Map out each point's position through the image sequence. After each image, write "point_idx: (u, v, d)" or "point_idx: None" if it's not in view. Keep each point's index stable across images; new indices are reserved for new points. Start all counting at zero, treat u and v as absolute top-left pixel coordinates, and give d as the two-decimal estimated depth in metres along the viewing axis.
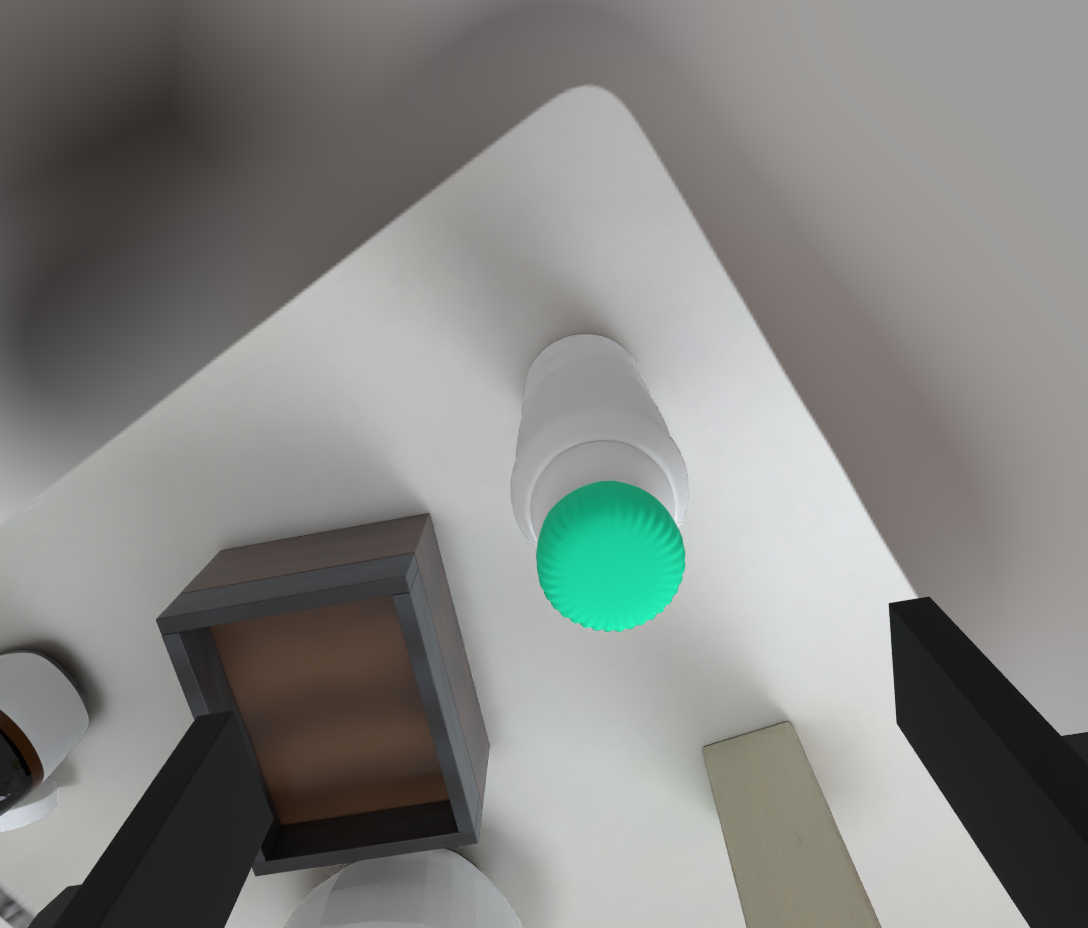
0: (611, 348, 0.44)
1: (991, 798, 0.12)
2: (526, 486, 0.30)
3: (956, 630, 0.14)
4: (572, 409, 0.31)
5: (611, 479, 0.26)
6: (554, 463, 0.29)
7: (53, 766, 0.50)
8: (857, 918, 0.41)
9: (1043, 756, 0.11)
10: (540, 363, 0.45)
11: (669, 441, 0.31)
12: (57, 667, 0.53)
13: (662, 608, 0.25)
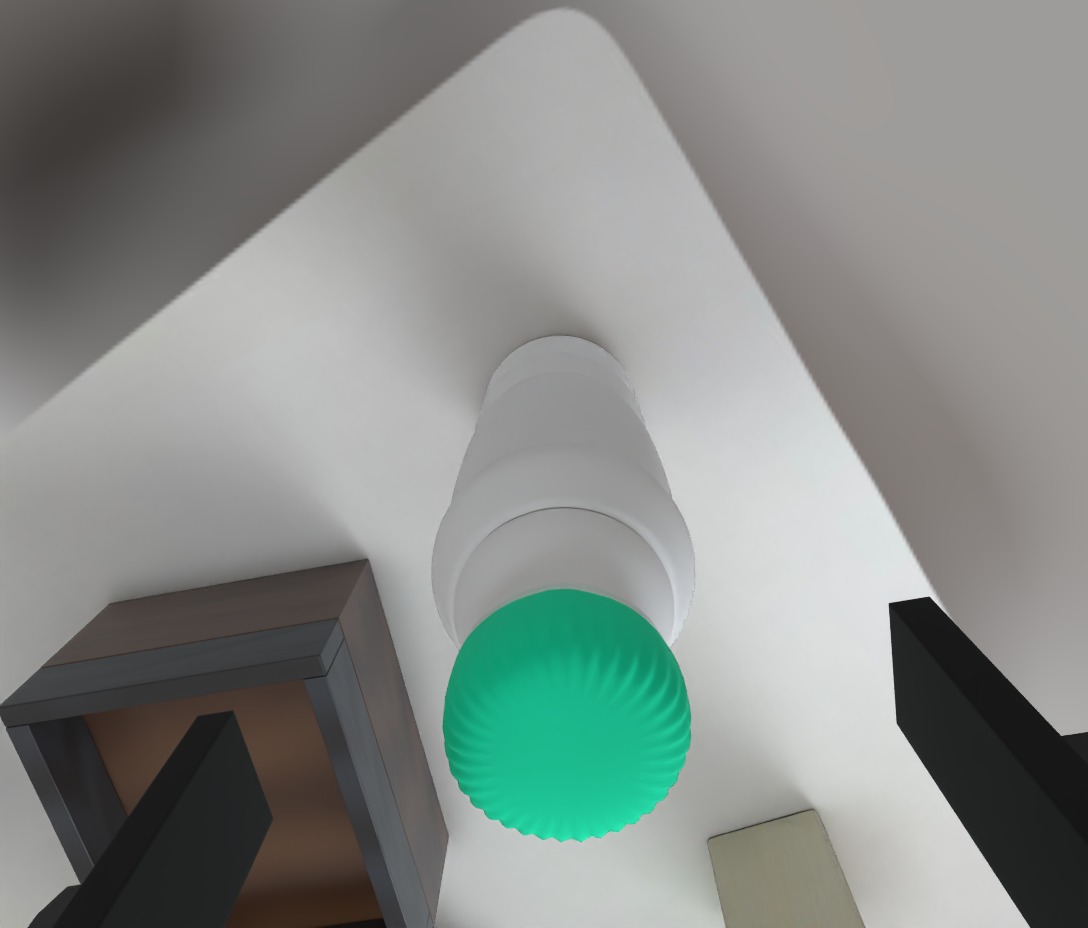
0: (593, 355, 0.34)
1: (991, 798, 0.12)
2: (449, 574, 0.20)
3: (956, 630, 0.14)
4: (521, 454, 0.20)
5: (570, 584, 0.16)
6: (488, 544, 0.19)
7: None
8: None
9: (1043, 756, 0.11)
10: (500, 374, 0.34)
11: (666, 504, 0.20)
12: None
13: (653, 806, 0.15)
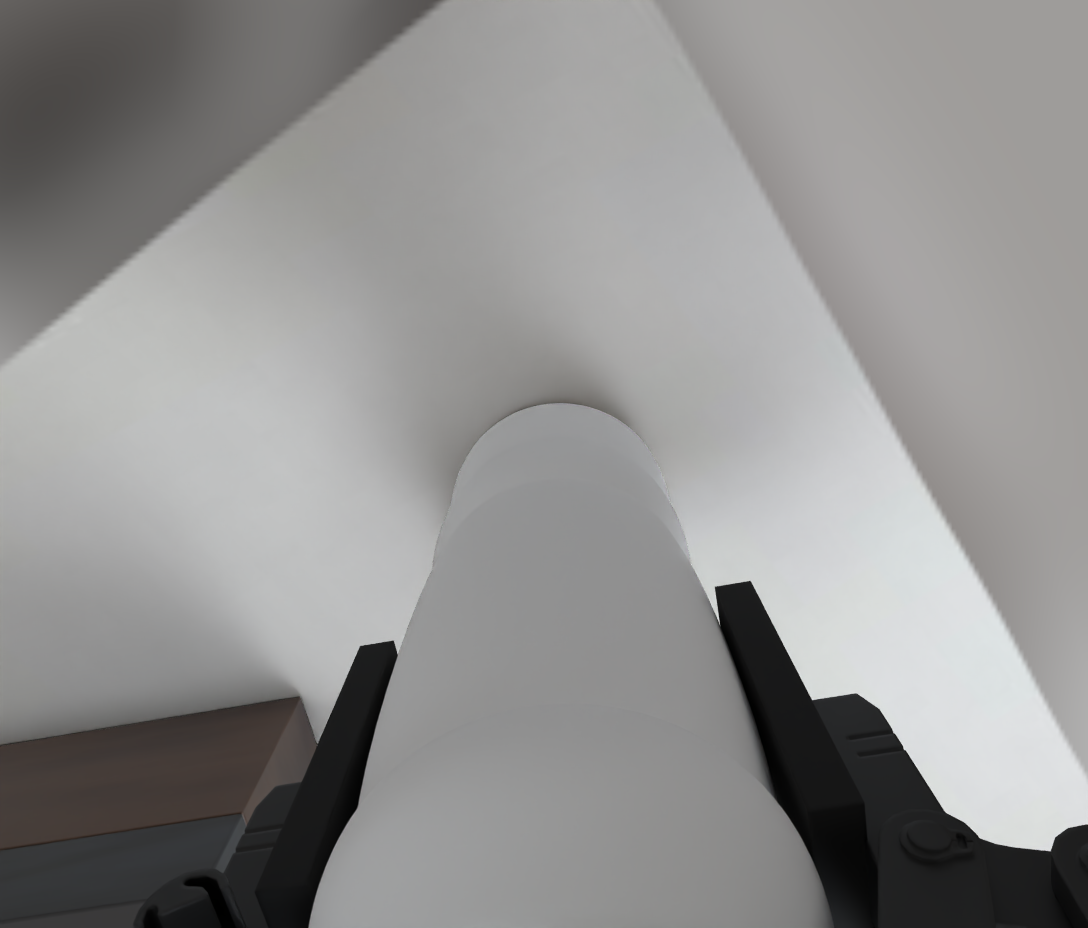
0: (608, 437, 0.23)
1: (765, 752, 0.14)
2: None
3: (761, 609, 0.16)
4: (483, 755, 0.10)
5: None
6: None
7: None
8: None
9: (789, 712, 0.13)
10: (475, 464, 0.24)
11: (790, 864, 0.10)
12: None
13: None
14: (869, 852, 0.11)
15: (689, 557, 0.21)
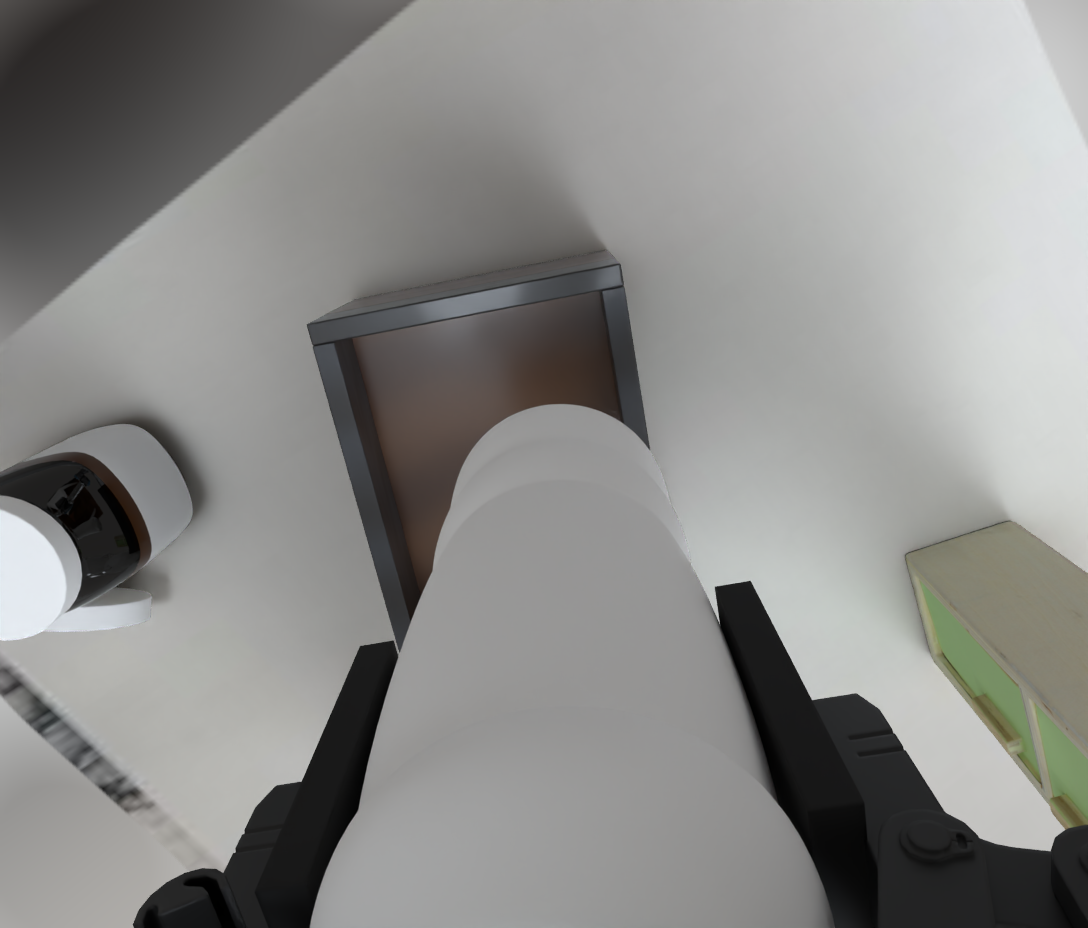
0: (608, 438, 0.23)
1: (765, 752, 0.14)
2: None
3: (761, 609, 0.16)
4: (483, 758, 0.10)
5: None
6: None
7: (160, 544, 0.42)
8: None
9: (789, 712, 0.13)
10: (475, 465, 0.24)
11: (791, 867, 0.10)
12: (158, 442, 0.45)
13: None
14: (869, 852, 0.11)
15: (689, 558, 0.21)
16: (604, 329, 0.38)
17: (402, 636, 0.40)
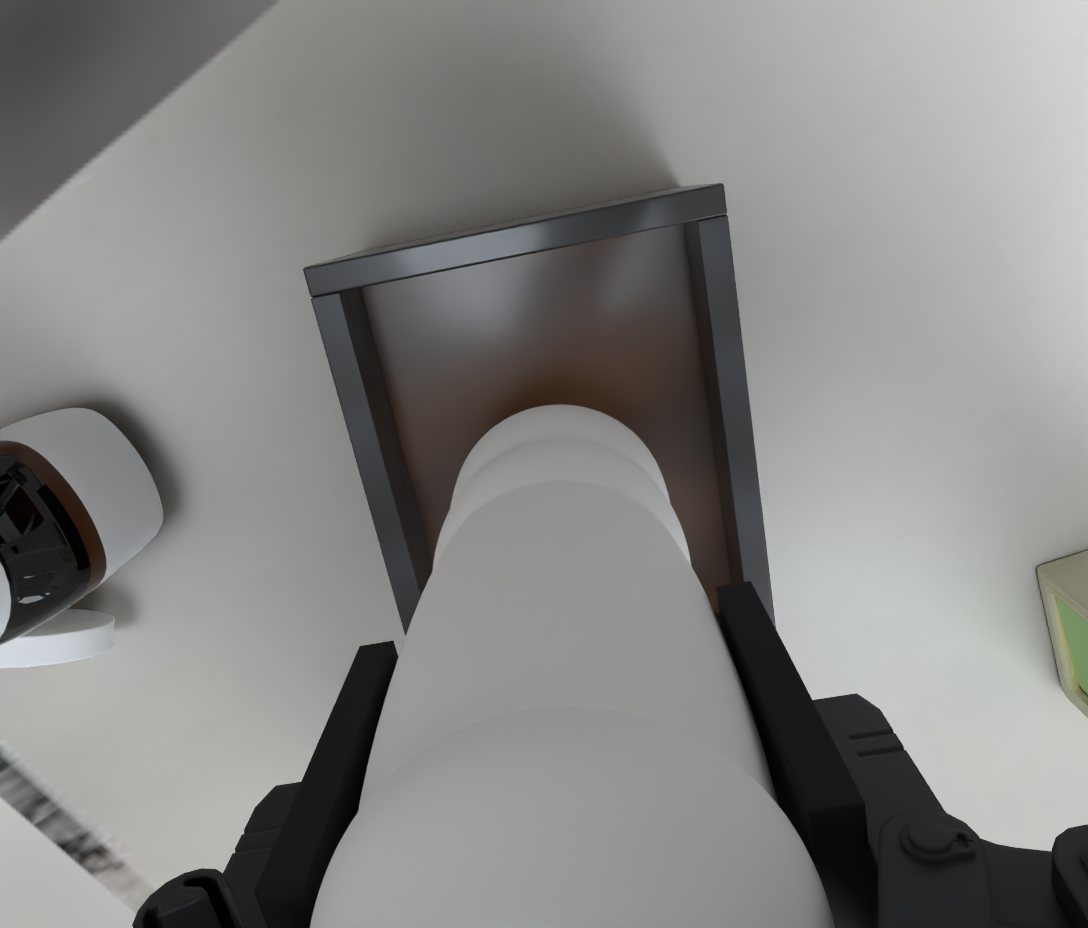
0: (608, 439, 0.23)
1: (765, 752, 0.14)
2: None
3: (761, 609, 0.16)
4: (484, 759, 0.10)
5: None
6: None
7: (119, 558, 0.33)
8: None
9: (789, 712, 0.13)
10: (475, 465, 0.24)
11: (791, 869, 0.10)
12: (119, 430, 0.36)
13: None
14: (869, 852, 0.11)
15: (689, 559, 0.21)
16: (689, 279, 0.29)
17: None
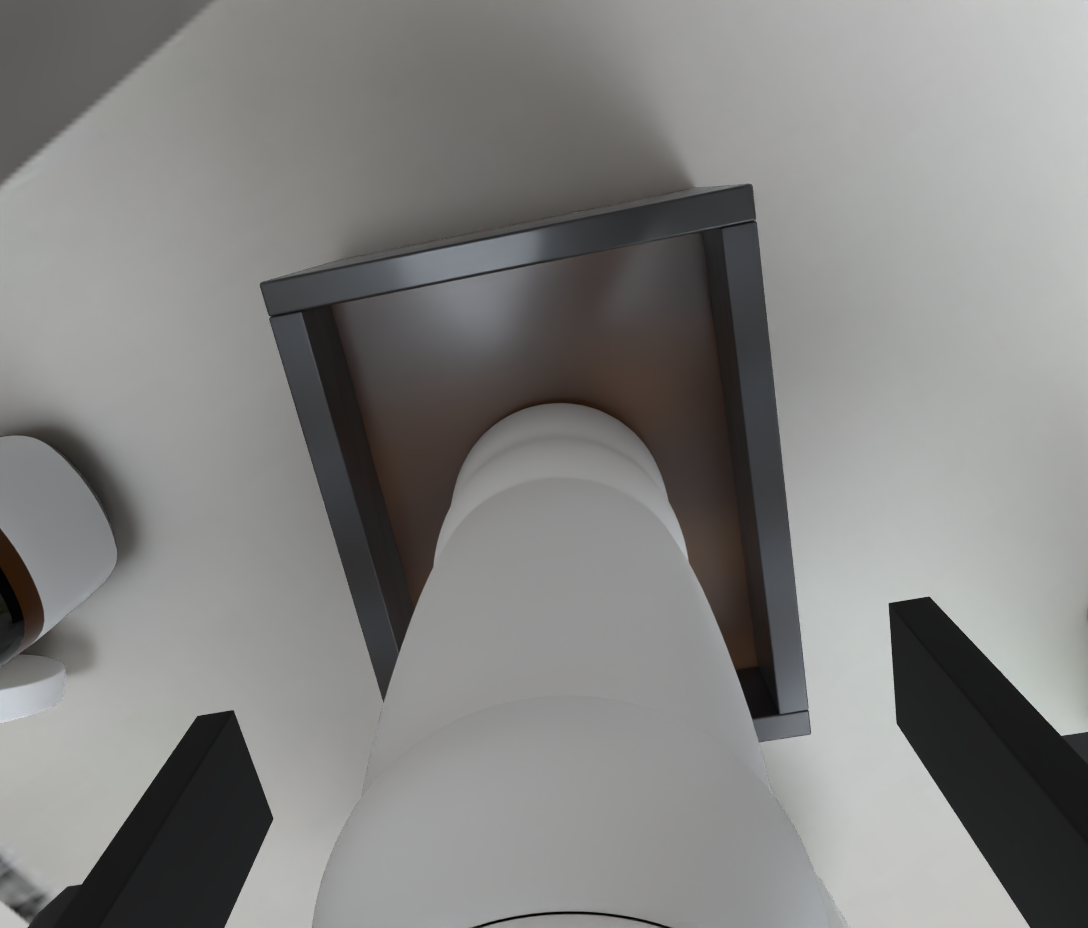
0: (607, 437, 0.24)
1: (991, 798, 0.12)
2: None
3: (956, 630, 0.14)
4: (484, 745, 0.10)
5: None
6: None
7: (60, 609, 0.29)
8: None
9: (1043, 756, 0.11)
10: (475, 463, 0.24)
11: (782, 851, 0.10)
12: (66, 460, 0.32)
13: None
14: None
15: (687, 555, 0.21)
16: (709, 294, 0.26)
17: None
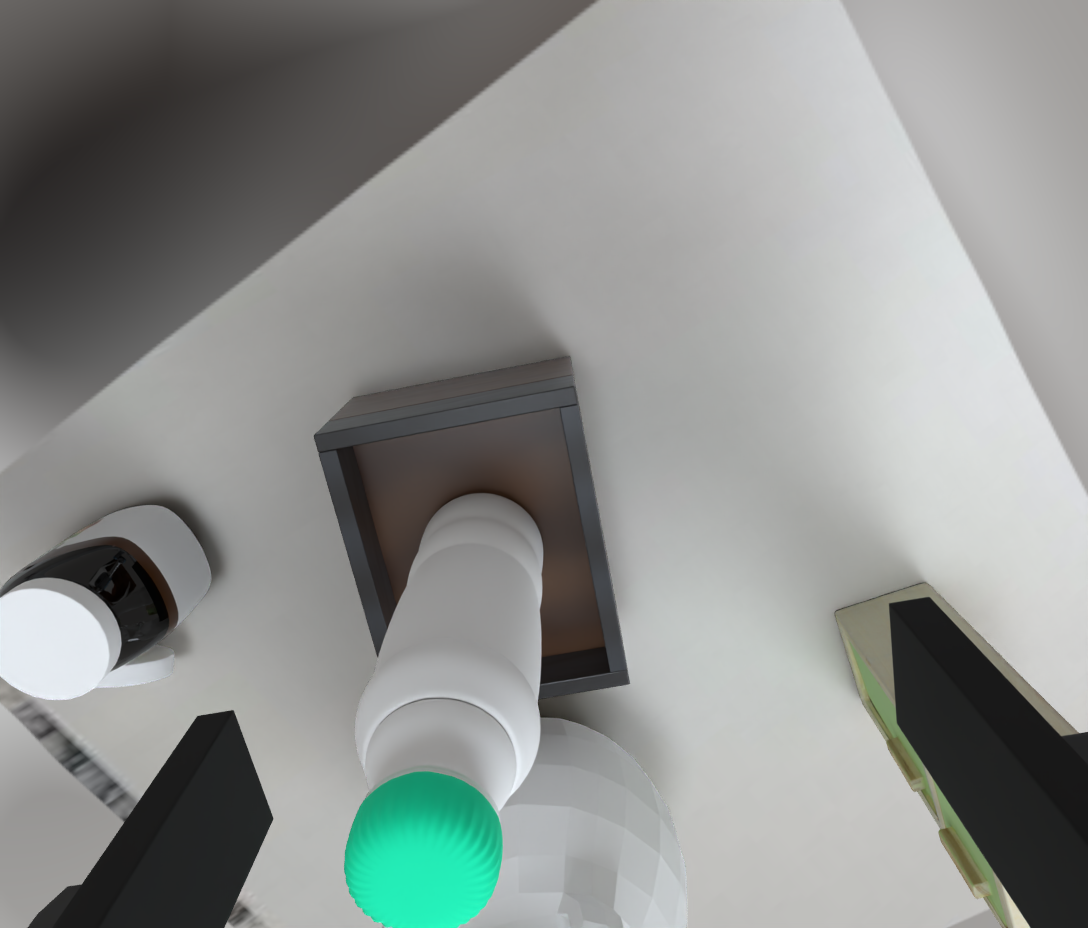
0: (503, 516, 0.43)
1: (991, 798, 0.12)
2: (363, 739, 0.29)
3: (956, 630, 0.14)
4: (415, 652, 0.30)
5: (429, 766, 0.25)
6: (386, 724, 0.28)
7: (185, 612, 0.48)
8: None
9: (1043, 756, 0.11)
10: (431, 530, 0.44)
11: (514, 687, 0.29)
12: (182, 520, 0.52)
13: (476, 913, 0.24)
14: None
15: (538, 581, 0.41)
16: None
17: None
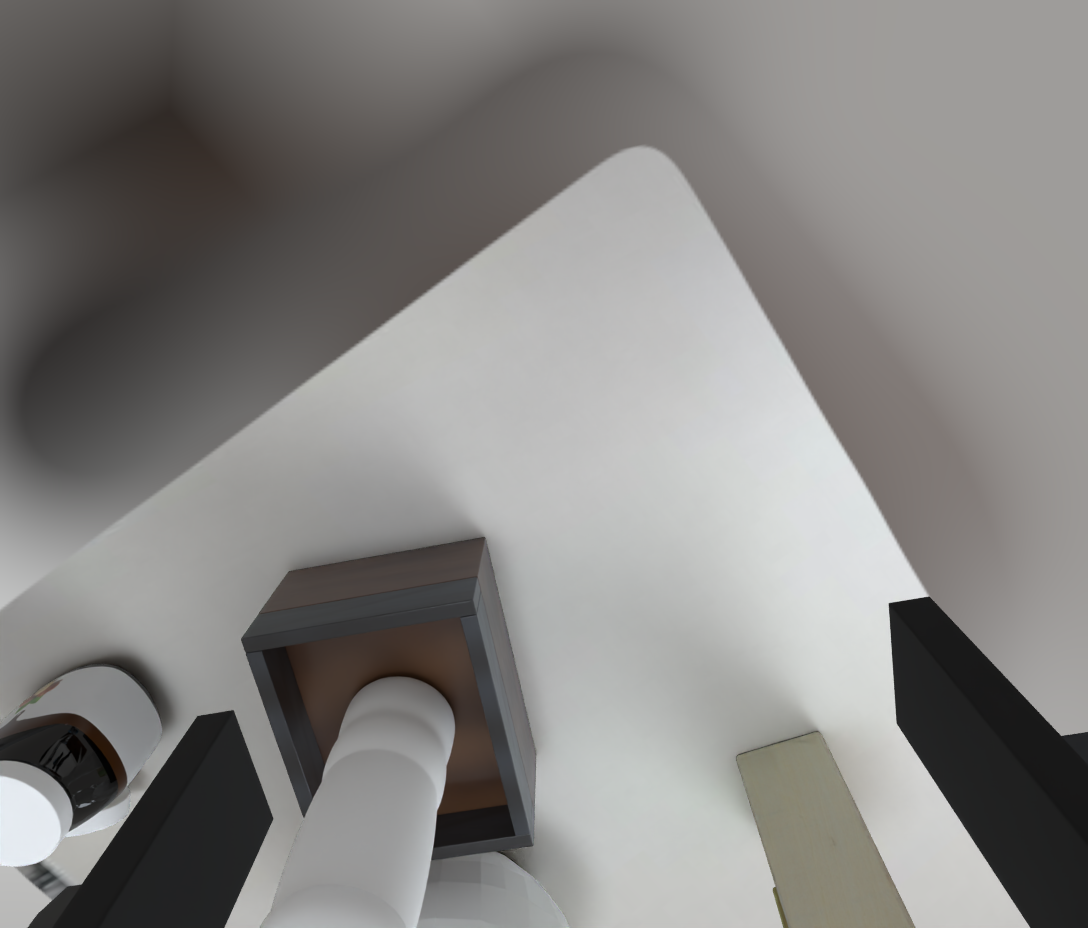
0: (412, 707, 0.48)
1: (991, 798, 0.12)
2: None
3: (956, 630, 0.14)
4: (299, 904, 0.34)
5: None
6: None
7: (134, 773, 0.54)
8: (890, 916, 0.44)
9: (1043, 756, 0.11)
10: (348, 718, 0.48)
11: None
12: (134, 680, 0.57)
13: None
14: None
15: (439, 776, 0.46)
16: None
17: None
